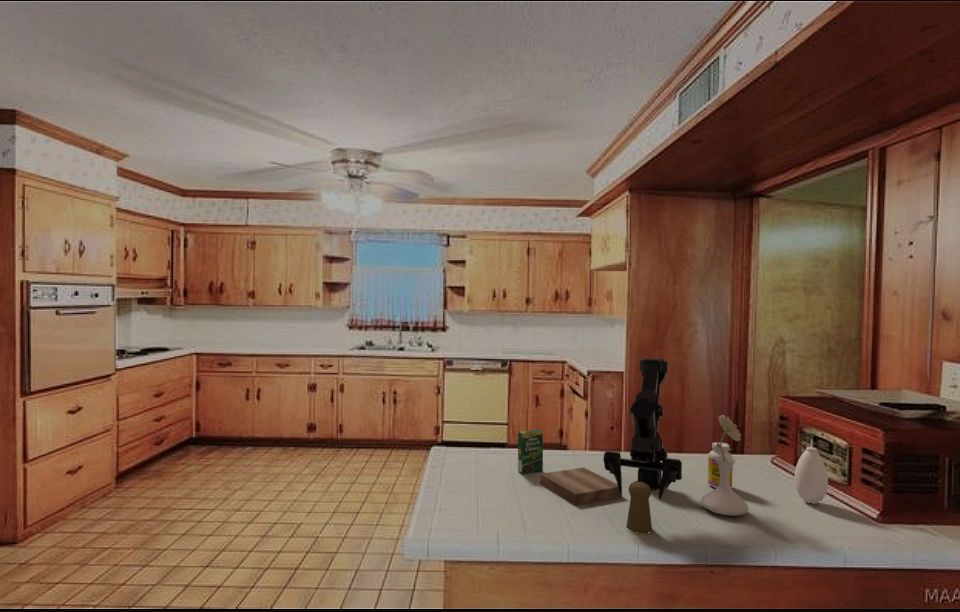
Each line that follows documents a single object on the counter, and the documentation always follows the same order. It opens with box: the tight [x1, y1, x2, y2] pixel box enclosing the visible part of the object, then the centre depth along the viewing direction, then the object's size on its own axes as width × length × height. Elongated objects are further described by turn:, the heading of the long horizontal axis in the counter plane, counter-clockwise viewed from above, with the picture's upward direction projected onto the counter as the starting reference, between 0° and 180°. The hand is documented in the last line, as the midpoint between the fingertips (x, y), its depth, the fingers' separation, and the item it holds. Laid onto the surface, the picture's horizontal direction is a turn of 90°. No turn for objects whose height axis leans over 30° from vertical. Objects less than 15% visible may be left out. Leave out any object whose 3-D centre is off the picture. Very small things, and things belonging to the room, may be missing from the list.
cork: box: [625, 481, 653, 534], centre depth 125 cm, size 6×6×11 cm
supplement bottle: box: [707, 441, 734, 489], centre depth 155 cm, size 7×7×13 cm
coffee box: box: [517, 429, 544, 474], centre depth 167 cm, size 8×3×13 cm, turn 113°
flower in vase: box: [700, 414, 749, 517], centre depth 137 cm, size 13×11×25 cm
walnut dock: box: [539, 467, 623, 506], centre depth 151 cm, size 16×18×3 cm
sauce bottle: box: [794, 438, 829, 505], centre depth 143 cm, size 8×8×18 cm
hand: (639, 496), depth 125 cm, fingers open, 9 cm apart
